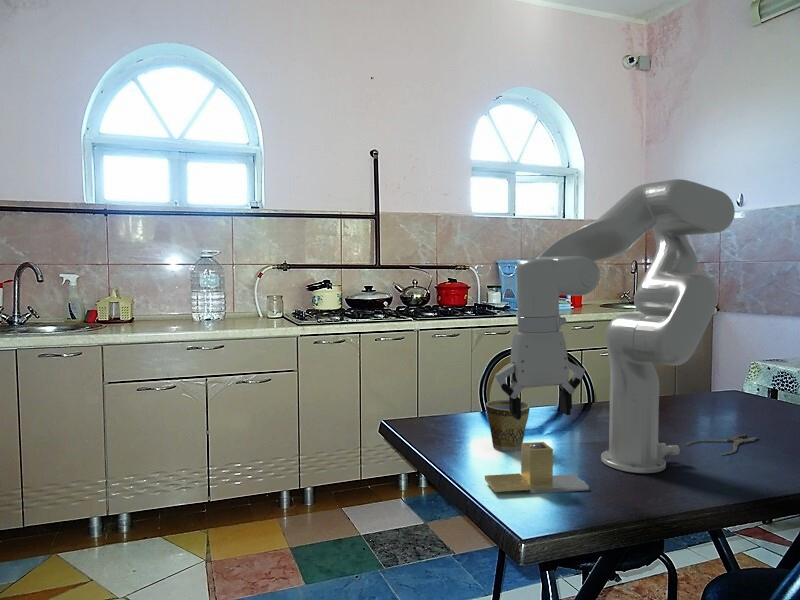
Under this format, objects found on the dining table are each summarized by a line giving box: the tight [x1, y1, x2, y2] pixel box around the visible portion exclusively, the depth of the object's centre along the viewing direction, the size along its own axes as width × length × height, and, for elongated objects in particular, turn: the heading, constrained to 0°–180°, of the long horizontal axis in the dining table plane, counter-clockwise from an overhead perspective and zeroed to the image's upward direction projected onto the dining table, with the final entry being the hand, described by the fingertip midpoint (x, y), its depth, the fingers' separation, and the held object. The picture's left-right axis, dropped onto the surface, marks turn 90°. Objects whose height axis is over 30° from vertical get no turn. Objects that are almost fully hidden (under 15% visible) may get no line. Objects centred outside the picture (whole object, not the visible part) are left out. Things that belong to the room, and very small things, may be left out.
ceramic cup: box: [485, 399, 531, 453], centre depth 131 cm, size 13×10×10 cm
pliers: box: [685, 433, 759, 456], centre depth 132 cm, size 10×1×20 cm
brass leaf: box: [484, 441, 554, 493], centre depth 105 cm, size 11×6×7 cm, turn 99°
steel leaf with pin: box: [526, 444, 590, 495], centre depth 106 cm, size 11×6×8 cm, turn 98°
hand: (540, 415), depth 105 cm, fingers open, 9 cm apart
